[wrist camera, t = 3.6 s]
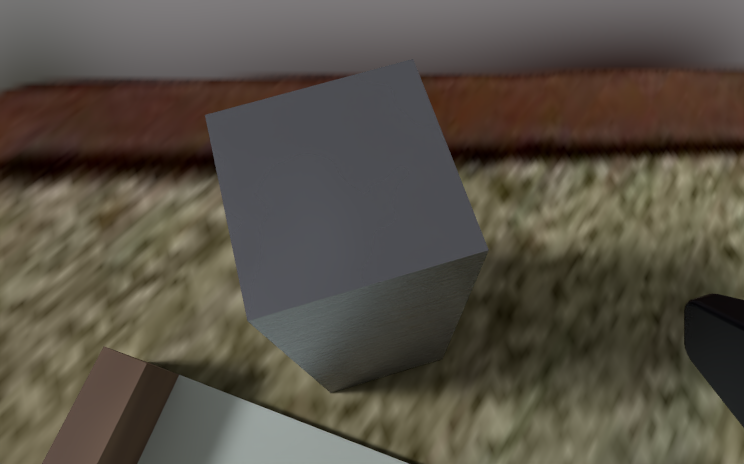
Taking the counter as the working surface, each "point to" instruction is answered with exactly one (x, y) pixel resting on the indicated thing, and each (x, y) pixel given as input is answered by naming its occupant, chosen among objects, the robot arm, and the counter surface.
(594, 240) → the counter surface
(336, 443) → the mat
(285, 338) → the bracket
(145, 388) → the corner walls
